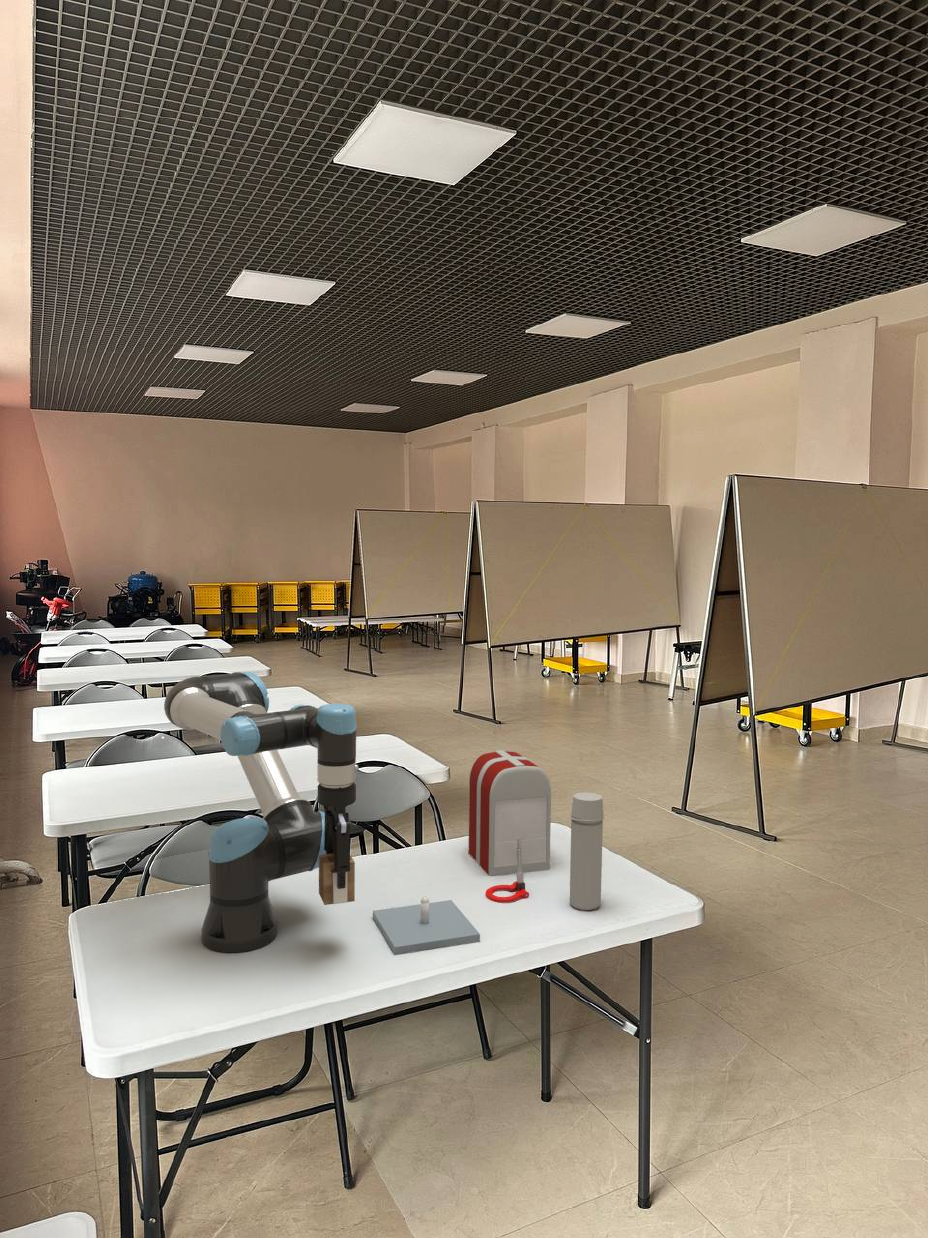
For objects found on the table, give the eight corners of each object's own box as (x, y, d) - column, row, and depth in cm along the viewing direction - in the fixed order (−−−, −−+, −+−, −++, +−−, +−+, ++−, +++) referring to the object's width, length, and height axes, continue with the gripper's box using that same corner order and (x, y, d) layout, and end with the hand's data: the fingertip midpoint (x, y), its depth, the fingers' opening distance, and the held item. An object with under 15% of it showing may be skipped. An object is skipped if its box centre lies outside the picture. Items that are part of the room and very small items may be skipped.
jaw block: (324, 905, 171) (324, 865, 171) (318, 893, 177) (318, 855, 176) (354, 901, 173) (354, 862, 173) (348, 889, 179) (348, 851, 178)
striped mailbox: (525, 846, 235) (527, 747, 233) (551, 869, 218) (553, 763, 216) (466, 852, 230) (467, 751, 228) (488, 877, 213) (490, 768, 211)
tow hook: (494, 907, 197) (531, 899, 200) (492, 851, 195) (529, 845, 199) (480, 893, 205) (516, 886, 208) (478, 839, 203) (514, 833, 207)
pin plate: (394, 954, 173) (394, 921, 172) (372, 917, 190) (372, 886, 189) (479, 941, 179) (480, 908, 178) (451, 906, 196) (451, 876, 195)
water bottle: (607, 911, 194) (609, 800, 192) (572, 913, 193) (575, 802, 191) (594, 894, 203) (596, 789, 201) (561, 896, 202) (563, 790, 200)
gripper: (366, 794, 165) (366, 912, 167) (345, 769, 183) (345, 876, 185) (327, 798, 163) (327, 918, 165) (309, 772, 181) (309, 880, 183)
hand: (336, 895), depth 175 cm, fingers closed on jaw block, 6 cm apart
